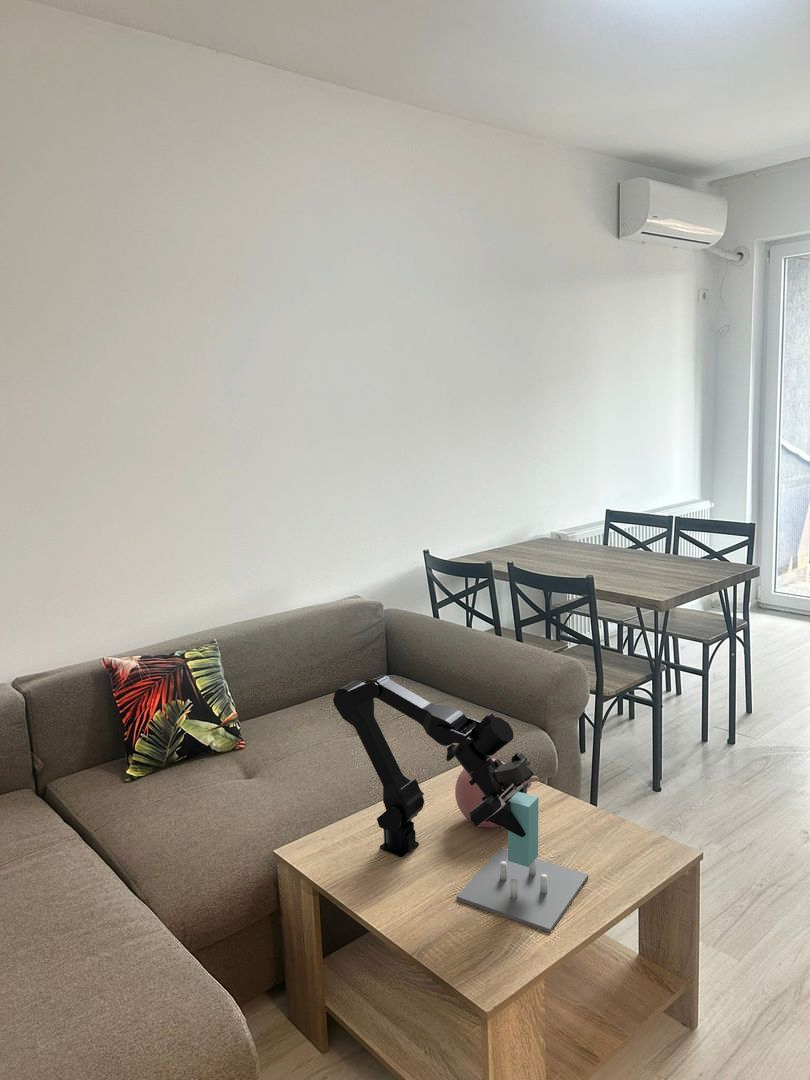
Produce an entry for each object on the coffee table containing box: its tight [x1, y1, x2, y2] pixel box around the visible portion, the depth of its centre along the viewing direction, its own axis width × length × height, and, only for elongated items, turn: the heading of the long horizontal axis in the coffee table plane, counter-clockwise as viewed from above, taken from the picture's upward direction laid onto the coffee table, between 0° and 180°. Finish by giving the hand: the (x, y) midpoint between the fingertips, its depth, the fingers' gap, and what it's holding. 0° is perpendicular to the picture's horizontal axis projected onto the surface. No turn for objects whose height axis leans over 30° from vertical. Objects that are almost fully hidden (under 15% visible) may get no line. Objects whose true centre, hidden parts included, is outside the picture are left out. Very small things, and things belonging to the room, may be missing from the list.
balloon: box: [454, 757, 540, 828], centre depth 192 cm, size 15×20×15 cm
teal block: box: [507, 792, 539, 867], centre depth 166 cm, size 4×4×13 cm
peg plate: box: [455, 847, 589, 934], centre depth 168 cm, size 20×20×4 cm
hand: (529, 830), depth 165 cm, fingers closed on teal block, 4 cm apart
